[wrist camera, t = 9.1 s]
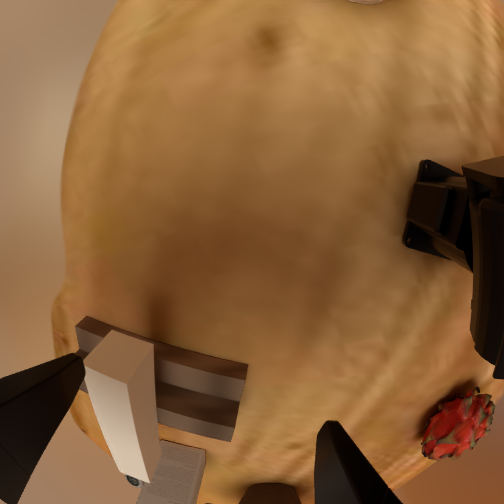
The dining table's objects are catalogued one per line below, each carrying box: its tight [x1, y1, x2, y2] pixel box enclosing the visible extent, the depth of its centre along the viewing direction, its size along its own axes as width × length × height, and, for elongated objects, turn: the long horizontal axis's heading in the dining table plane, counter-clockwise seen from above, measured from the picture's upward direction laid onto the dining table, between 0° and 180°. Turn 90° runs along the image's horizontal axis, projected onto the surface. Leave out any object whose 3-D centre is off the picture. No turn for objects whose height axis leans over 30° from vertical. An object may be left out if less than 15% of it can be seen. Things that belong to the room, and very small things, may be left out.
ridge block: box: [75, 316, 248, 442], centre depth 21 cm, size 16×8×5 cm, turn 79°
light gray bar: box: [83, 330, 161, 483], centre depth 16 cm, size 3×16×4 cm, turn 169°
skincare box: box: [136, 440, 206, 504], centre depth 22 cm, size 6×4×12 cm
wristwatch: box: [125, 474, 144, 488], centre depth 29 cm, size 4×6×5 cm, turn 10°
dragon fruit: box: [421, 387, 495, 461], centre depth 19 cm, size 8×8×12 cm
